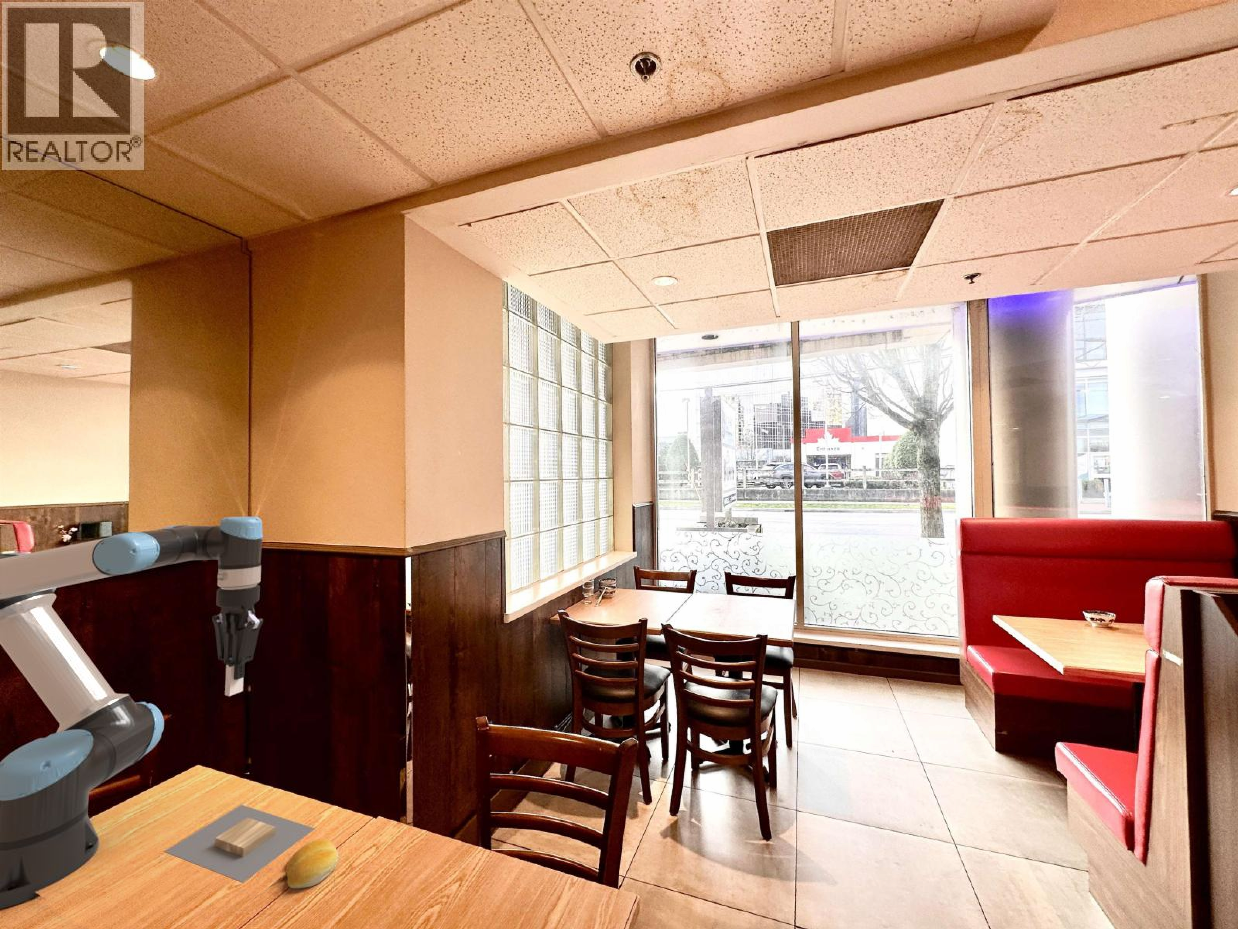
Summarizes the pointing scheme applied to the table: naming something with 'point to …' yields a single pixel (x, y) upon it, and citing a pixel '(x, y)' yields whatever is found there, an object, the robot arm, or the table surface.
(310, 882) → the bread roll
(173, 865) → the table surface
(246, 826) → the light wood flat block
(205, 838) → the slate board
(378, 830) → the table surface
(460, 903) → the table surface
